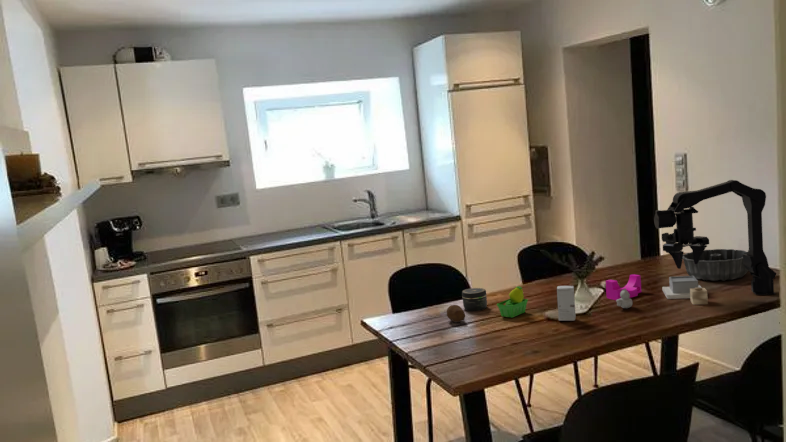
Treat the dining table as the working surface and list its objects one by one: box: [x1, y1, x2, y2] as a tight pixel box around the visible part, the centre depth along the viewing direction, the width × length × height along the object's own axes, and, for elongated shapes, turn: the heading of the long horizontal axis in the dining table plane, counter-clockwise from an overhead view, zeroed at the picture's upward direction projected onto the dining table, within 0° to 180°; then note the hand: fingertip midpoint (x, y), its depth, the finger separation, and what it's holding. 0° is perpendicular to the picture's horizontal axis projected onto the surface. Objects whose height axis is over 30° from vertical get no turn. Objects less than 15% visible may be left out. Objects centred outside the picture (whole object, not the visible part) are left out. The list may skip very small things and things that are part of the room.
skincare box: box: [556, 285, 577, 322], centre depth 228 cm, size 6×4×12 cm
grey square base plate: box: [661, 275, 703, 300], centre depth 245 cm, size 14×14×6 cm
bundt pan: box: [682, 248, 749, 282], centre depth 266 cm, size 26×26×10 cm
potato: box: [446, 304, 466, 323], centre depth 243 cm, size 7×10×6 cm
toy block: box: [605, 273, 642, 301], centre depth 252 cm, size 15×6×8 cm, turn 114°
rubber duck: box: [615, 288, 633, 309], centre depth 235 cm, size 5×7×8 cm
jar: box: [461, 287, 488, 312], centre depth 258 cm, size 10×10×8 cm
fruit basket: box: [496, 285, 529, 319], centre depth 243 cm, size 11×9×11 cm
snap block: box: [689, 287, 709, 306], centre depth 231 cm, size 5×5×6 cm
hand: (687, 266), depth 237 cm, fingers open, 9 cm apart
